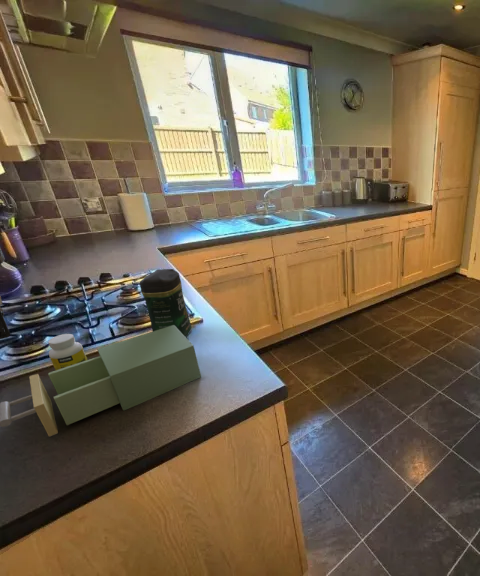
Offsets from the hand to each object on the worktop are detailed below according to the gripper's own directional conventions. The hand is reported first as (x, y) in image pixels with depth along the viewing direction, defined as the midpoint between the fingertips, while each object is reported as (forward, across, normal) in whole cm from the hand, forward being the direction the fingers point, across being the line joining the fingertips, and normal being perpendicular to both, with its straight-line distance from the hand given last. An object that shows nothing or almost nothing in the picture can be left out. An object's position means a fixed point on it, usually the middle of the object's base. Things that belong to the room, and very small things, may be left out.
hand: (1, 337), depth 55 cm
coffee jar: (+18, -14, +29) cm, 37 cm away
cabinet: (+18, +2, +19) cm, 26 cm away
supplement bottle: (+19, -12, +8) cm, 24 cm away
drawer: (+17, +2, +5) cm, 18 cm away
